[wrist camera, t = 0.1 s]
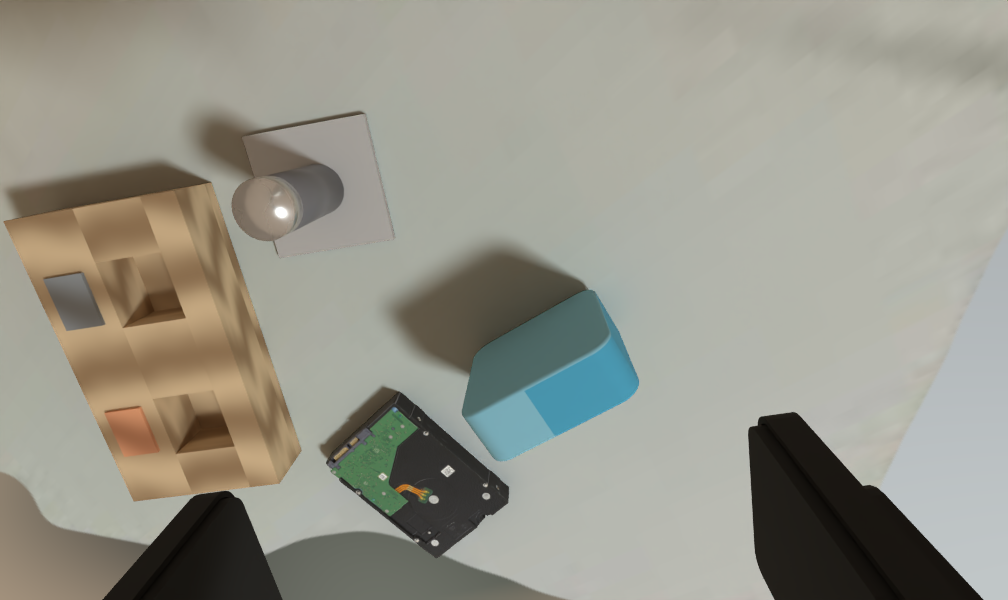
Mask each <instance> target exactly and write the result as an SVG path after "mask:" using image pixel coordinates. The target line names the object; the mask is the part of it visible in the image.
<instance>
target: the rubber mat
mask: <svg viewBox="0 0 1008 600" xmlns="http://www.w3.org/2000/svg"><path fill="white" fill-rule="evenodd" d="M242 139H243V143H244V146H245V149H246V152H247V155H248V159H249V162H250V165H251V168H252V171H253V175H254V178H258V177H262V176H266V175H270V174H274V173H279V172H283V171H287V170H291V169H295V168H299V167H304V166H308V165H312V164H322V165H325V166H328V167H330V168H331V169H333V170H334V171H335V172H336V173H337V174H338V175H339V177H340V179H341V181H342V183H343V187H344V197H343V200H342V203H341V204H340V206H339V207H338V208H337V209H336V210H334V211H333V212H331V213H329V214H327V215H325V216H323V217H321V218H319V219H317V220H315V221H313V222H311V223H309V224H307V225H305V226H303V227H301V228H299V229H297V230H295V231H293V232H291V233H289V234H287V235H285V236H283V237H281V238H279V239H277V240H274V242H275V245H276V249H277V252H278V255H279V258H284V257H290V256H296V255H302V254H308V253H314V252H320V251H327V250H333V249H339V248H345V247H351V246H357V245H363V244H369V243H375V242H381V241H388V240H394V239H395V234H394V230H393V226H392V222H391V218H390V214H389V209H388V205H387V201H386V197H385V193H384V189H383V184H382V180H381V176H380V172H379V168H378V163H377V159H376V155H375V151H374V147H373V143H372V138H371V134H370V130H369V126H368V122H367V118H366V114H360V115H355V116H349V117H344V118H339V119H333V120H328V121H323V122H317V123H312V124H307V125H301V126H296V127H291V128H285V129H280V130H275V131H269V132H264V133H259V134H253V135H248V136H243V137H242Z"/></svg>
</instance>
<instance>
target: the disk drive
mask: <svg viewBox="0 0 1008 600" xmlns="http://www.w3.org/2000/svg"><path fill="white" fill-rule="evenodd" d="M326 464H327V465H328V466H329V467H330V468H332V470H331V472H332V473H333V474H334V475H335V476H337V477H338V478H339V481H340V482H341V483H343V484H344V485H345V486H347V487H348V488H349V489H351V490H352V491H353V492H355V493H356V494H357V495H359V497H361V498H362V499H363V500H364V501H366V503H368V504H369V505H370V506H372V507H373V508H374V509H375V510H377V511H378V512H379V513H380V514H382V515H383V516H384V517H385V518H386V519H388V520H389V521H390V522H391V523H393V524H394V525H395V526H396V527H398V528H399V529H400V530H401V531H403V532H404V533H405V534H406V535H407V536H409V537H410V538H411V539H412V540H414V541H415V542H416V543H417V544H418V545H419V546H420V547H422V548H423V549H424V550H426V551H427V552H428V553H430V554H432V555H433V556H434V557H435V558H438V557H440V556H441V555H442V554H443V553H445V552H446V551H447V550H448V549H450V548H451V547H452V546H453V545H454V544H456V543H457V542H459V541H460V540H461V539H462V538H464V537H465V536H466V535H468V534H469V533H470V532H472V531H473V530H474V529H476V528H477V526H478V525H479V524H480V522H481V521H482V520H483V519H484V518H485V515H487V516H488V515H490V514H491V515H494V514H495V513H496V512H497V511H498V510H500V509H501V508H502V507H504V506H505V505H506V504H508V498H509V487H508V486H507V485H506V484H504V483H503V482H502V481H501V480H500V478H499V477H497V476H496V475H495V474H494V473H493V472H492V471H490V470H488V469H487V468H486V467H485V466H484V465H483V464H482V463H480V462H479V461H478V460H477V459H476V458H475V457H474V456H473V455H471V454H470V453H469V452H468V451H467V450H466V449H464V448H463V447H462V446H461V445H460V444H459V443H458V442H457V441H455V440H454V439H453V438H452V437H451V436H450V435H449V434H447V433H446V432H445V431H444V430H443V429H442V428H441V427H439V426H438V425H437V424H436V423H435V422H434V421H433V420H432V419H430V418H429V417H428V416H427V415H426V414H425V413H424V412H423V411H422V409H420V408H419V407H418V406H417V405H415V404H414V403H413V402H411V401H410V400H409V399H408V398H407V397H406V396H405V395H404V394H402V393H401V392H398V393H397V394H396V395H395V396H394V397H393V398H392V399H390V400H389V401H388V402H387V403H386V404H385V405H384V406H383V407H382V408H380V409H379V410H378V411H377V412H376V413H375V414H374V415H373V416H372V417H371V418H370V419H368V421H367V422H366V423H364V424H363V425H362V426H361V427H360V428H359V429H358V430H356V431H355V432H354V433H353V434H352V435H351V436H350V437H349V438H348V439H347V440H346V441H344V442H343V443H342V444H341V445H340V446H339V447H338V448H337V449H336V450H335V451H333V452H332V454H331V455H330V457H329V459H328V460H327V462H326Z"/></svg>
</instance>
